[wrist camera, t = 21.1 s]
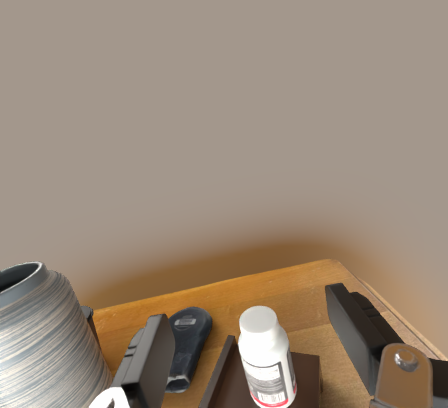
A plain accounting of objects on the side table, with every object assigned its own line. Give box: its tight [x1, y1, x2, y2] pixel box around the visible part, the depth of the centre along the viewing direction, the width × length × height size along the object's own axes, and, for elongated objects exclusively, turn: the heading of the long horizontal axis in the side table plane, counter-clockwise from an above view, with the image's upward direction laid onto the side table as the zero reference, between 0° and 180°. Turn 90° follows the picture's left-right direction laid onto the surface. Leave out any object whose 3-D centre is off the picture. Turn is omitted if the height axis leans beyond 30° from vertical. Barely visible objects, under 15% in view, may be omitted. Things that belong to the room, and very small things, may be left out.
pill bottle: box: [238, 306, 297, 408], centre depth 27 cm, size 5×5×10 cm
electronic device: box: [165, 307, 212, 393], centre depth 41 cm, size 9×6×15 cm
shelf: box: [198, 335, 323, 408], centre depth 29 cm, size 12×10×6 cm
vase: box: [0, 261, 113, 408], centre depth 29 cm, size 12×12×23 cm
